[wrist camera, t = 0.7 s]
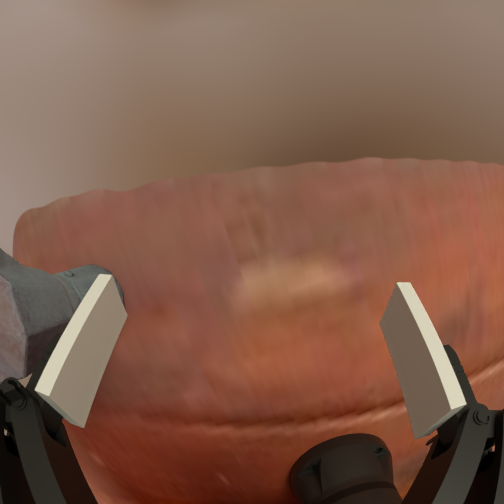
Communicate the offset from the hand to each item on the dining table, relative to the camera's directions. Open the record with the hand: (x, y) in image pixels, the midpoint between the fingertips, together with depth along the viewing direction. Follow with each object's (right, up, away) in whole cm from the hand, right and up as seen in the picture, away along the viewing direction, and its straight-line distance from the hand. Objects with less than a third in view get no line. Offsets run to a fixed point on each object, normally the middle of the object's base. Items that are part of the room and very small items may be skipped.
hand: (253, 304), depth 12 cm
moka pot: (-19, -4, +18) cm, 26 cm away
